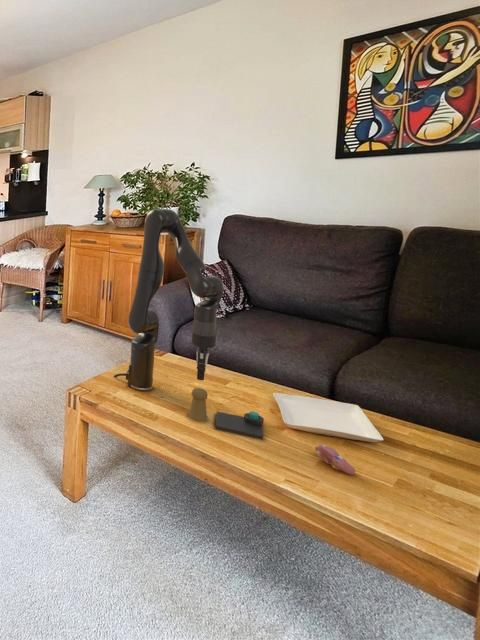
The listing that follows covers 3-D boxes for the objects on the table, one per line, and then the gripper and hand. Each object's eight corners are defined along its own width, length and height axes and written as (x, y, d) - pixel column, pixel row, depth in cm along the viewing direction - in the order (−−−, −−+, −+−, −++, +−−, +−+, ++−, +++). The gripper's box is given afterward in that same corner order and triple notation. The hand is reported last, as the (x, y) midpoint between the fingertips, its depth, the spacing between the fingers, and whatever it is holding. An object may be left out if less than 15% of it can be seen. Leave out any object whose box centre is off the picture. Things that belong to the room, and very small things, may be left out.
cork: (203, 414, 176) (205, 386, 174) (209, 422, 170) (212, 393, 168) (186, 413, 176) (188, 385, 175) (192, 421, 170) (194, 392, 169)
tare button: (248, 418, 167) (249, 414, 167) (248, 415, 170) (249, 410, 169) (258, 420, 166) (259, 416, 165) (258, 417, 168) (258, 412, 168)
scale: (215, 429, 165) (216, 421, 165) (216, 413, 176) (217, 406, 176) (264, 440, 158) (264, 432, 158) (262, 423, 169) (263, 415, 169)
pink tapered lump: (317, 461, 148) (309, 443, 147) (330, 455, 148) (322, 437, 147) (344, 481, 139) (336, 462, 138) (358, 474, 139) (350, 455, 138)
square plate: (356, 413, 176) (358, 403, 176) (383, 450, 152) (385, 439, 151) (271, 399, 188) (272, 390, 187) (283, 432, 163) (284, 421, 162)
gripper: (194, 325, 176) (191, 367, 178) (190, 336, 164) (187, 380, 166) (216, 328, 172) (213, 370, 175) (215, 339, 160) (211, 384, 163)
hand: (201, 375), depth 170 cm, fingers open, 8 cm apart
